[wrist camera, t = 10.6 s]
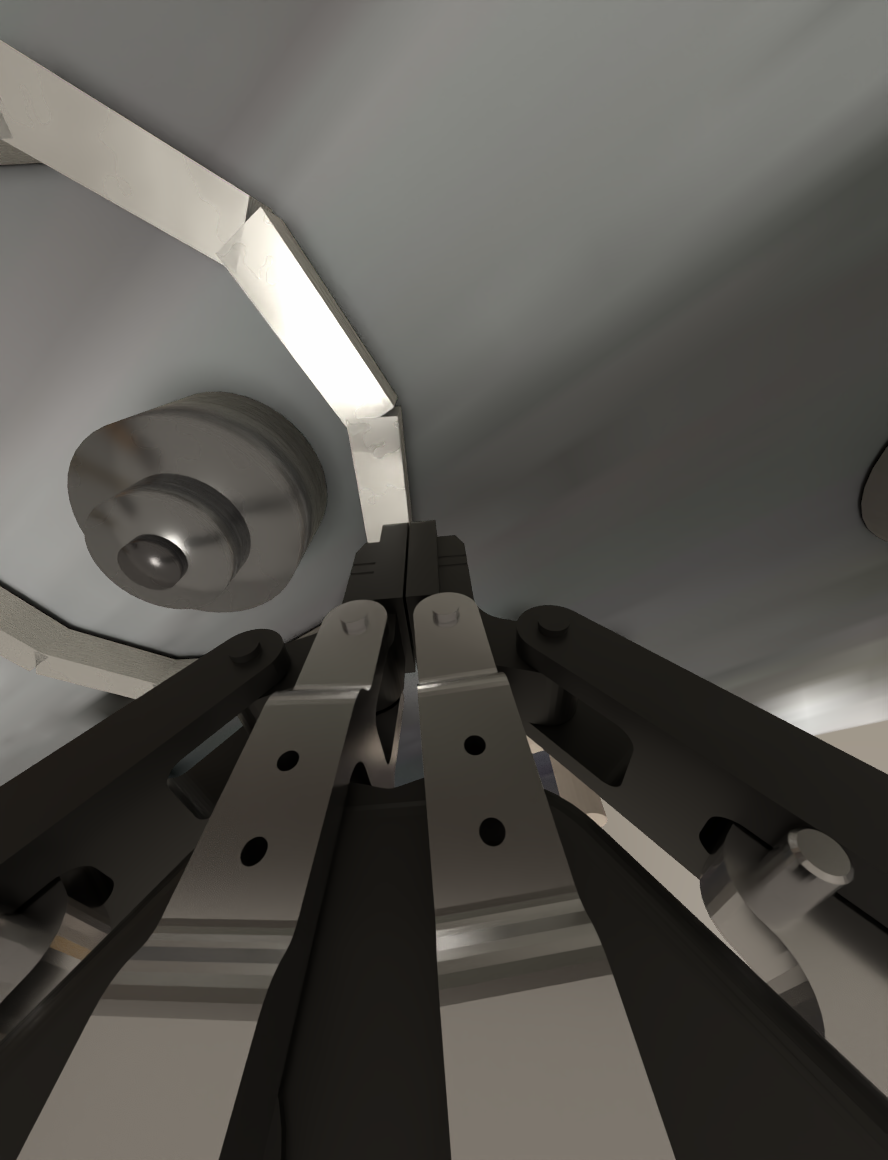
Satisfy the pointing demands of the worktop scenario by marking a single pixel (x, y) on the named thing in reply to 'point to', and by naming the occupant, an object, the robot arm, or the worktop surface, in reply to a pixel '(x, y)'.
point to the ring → (265, 273)
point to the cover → (199, 502)
